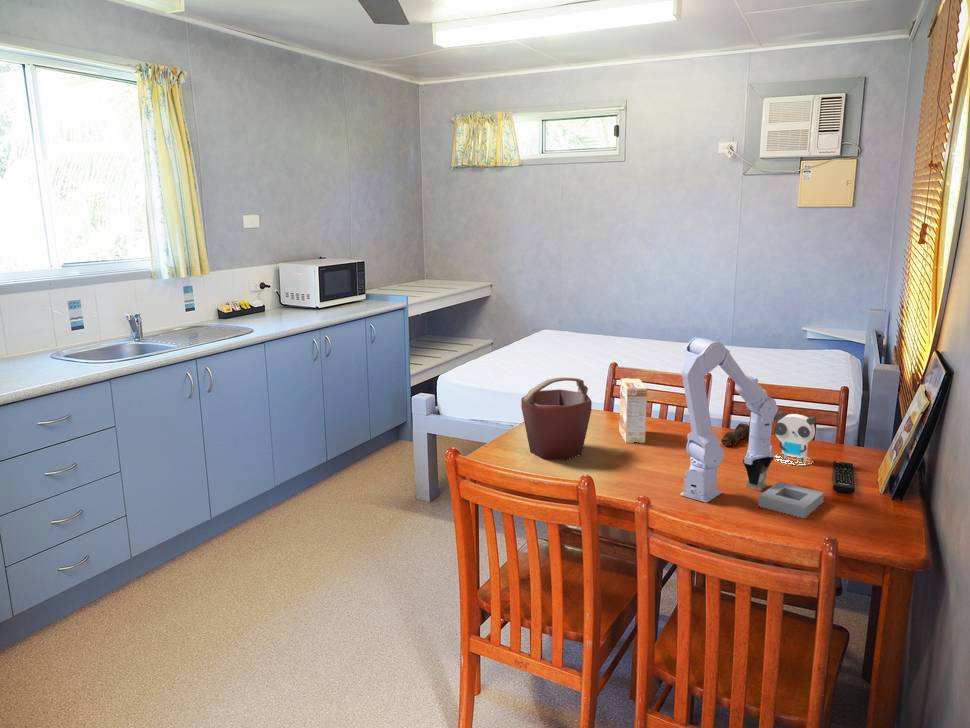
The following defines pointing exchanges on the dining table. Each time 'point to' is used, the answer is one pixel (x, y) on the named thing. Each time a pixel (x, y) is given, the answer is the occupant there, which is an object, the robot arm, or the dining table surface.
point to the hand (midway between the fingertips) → (756, 481)
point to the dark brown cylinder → (736, 435)
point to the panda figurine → (794, 436)
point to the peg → (761, 481)
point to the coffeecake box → (633, 410)
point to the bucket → (556, 420)
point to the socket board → (791, 499)
